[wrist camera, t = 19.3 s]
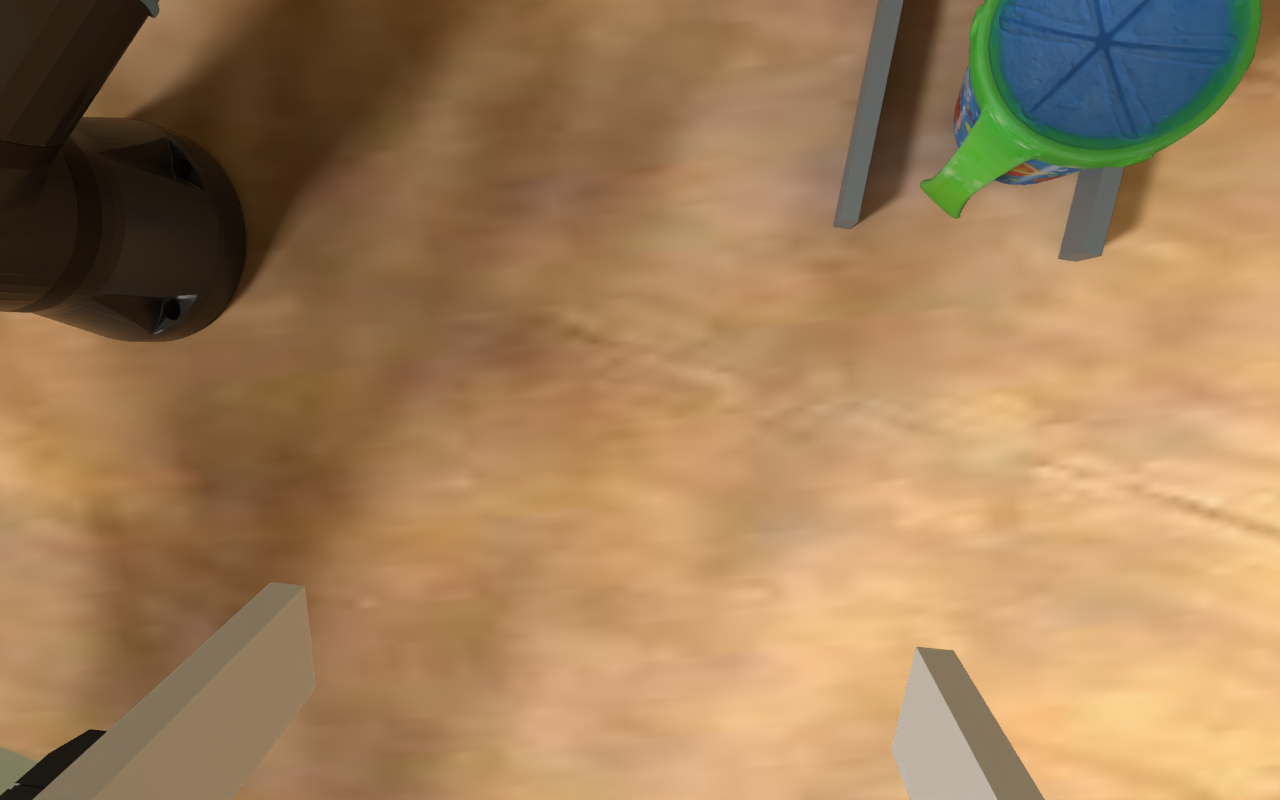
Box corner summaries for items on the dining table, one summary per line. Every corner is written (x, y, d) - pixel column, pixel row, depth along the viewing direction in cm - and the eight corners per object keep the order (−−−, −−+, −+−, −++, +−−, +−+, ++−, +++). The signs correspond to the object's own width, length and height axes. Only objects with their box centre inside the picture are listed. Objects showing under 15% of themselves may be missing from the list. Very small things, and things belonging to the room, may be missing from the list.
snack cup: (1085, -52, 34) (1209, -215, 24) (1214, 91, 34) (1397, -18, 24) (849, 145, 38) (875, 72, 28) (962, 279, 37) (1029, 253, 27)
